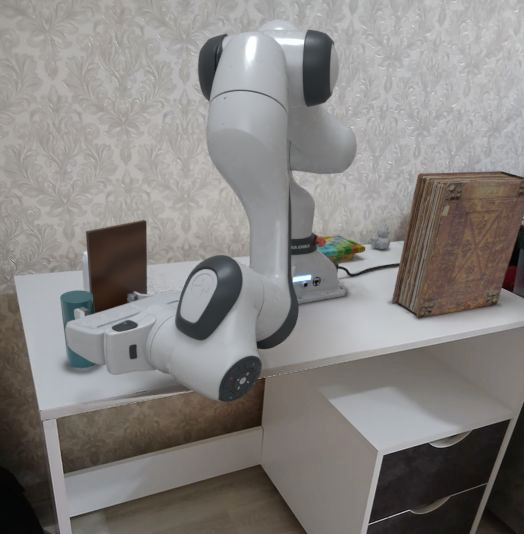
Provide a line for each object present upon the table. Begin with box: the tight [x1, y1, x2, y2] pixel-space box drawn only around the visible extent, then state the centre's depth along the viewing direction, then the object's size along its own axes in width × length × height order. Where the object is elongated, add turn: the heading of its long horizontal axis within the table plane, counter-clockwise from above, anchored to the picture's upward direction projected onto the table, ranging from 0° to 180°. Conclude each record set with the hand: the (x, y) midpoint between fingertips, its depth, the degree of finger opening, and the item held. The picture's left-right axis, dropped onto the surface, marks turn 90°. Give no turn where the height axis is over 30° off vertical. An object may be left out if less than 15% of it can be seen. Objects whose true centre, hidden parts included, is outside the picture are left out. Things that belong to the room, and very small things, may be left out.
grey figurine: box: [370, 223, 391, 250], centre depth 166 cm, size 5×7×8 cm
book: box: [391, 170, 524, 319], centre depth 126 cm, size 25×9×30 cm, turn 116°
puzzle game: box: [317, 234, 366, 263], centre depth 156 cm, size 12×5×20 cm
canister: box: [59, 289, 97, 369], centre depth 94 cm, size 5×5×13 cm
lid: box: [85, 219, 148, 313], centre depth 106 cm, size 16×13×5 cm
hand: (105, 304), depth 86 cm, fingers open, 8 cm apart
